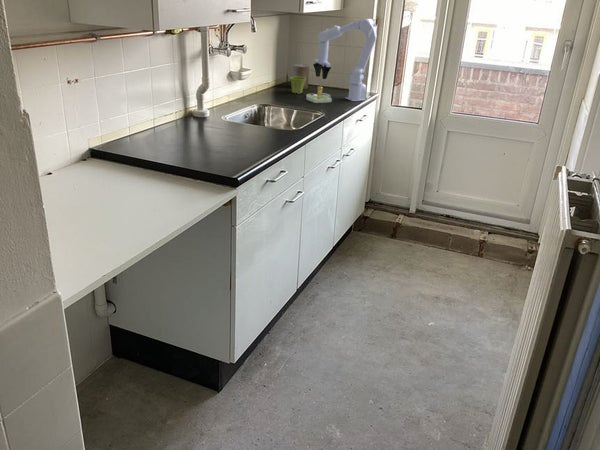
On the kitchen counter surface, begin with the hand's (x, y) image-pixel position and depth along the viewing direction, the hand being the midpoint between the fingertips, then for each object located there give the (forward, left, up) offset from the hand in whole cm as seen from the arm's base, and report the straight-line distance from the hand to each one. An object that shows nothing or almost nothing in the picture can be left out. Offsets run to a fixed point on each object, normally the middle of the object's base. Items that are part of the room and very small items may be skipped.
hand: (321, 77), depth 310 cm
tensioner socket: (+1, +6, -10) cm, 12 cm away
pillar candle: (+2, -21, -10) cm, 23 cm away
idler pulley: (+8, +5, -10) cm, 14 cm away
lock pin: (+9, +14, -9) cm, 19 cm away
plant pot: (+11, -8, -10) cm, 17 cm away
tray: (+9, +15, -10) cm, 20 cm away
